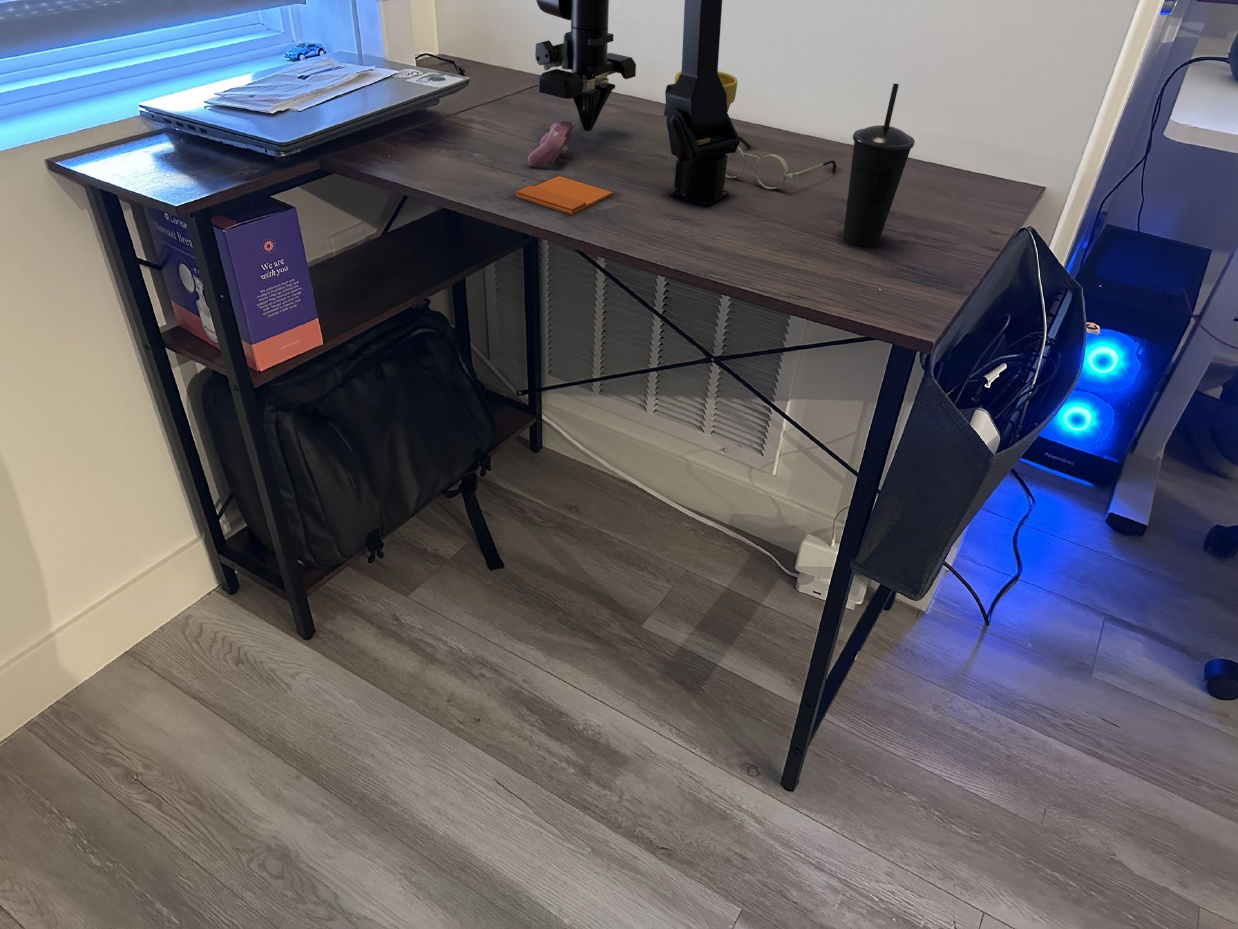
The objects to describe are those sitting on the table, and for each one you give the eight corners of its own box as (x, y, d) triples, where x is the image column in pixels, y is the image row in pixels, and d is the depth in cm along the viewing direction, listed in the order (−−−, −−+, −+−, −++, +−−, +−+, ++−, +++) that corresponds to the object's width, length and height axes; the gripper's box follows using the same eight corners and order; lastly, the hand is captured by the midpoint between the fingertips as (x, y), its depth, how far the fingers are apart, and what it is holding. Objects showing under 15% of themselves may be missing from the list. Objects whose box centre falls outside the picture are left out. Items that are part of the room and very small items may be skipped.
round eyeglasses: (699, 170, 138) (702, 137, 135) (746, 146, 148) (750, 116, 145) (796, 197, 130) (802, 163, 127) (839, 170, 140) (845, 139, 137)
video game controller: (550, 179, 136) (570, 140, 132) (524, 164, 135) (543, 124, 131) (563, 159, 144) (582, 121, 139) (539, 144, 143) (557, 105, 139)
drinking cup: (899, 240, 119) (939, 85, 107) (872, 256, 115) (910, 96, 102) (850, 223, 123) (883, 72, 111) (822, 238, 119) (852, 82, 106)
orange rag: (612, 194, 128) (613, 189, 128) (571, 214, 121) (571, 209, 121) (558, 178, 132) (558, 173, 132) (516, 197, 126) (515, 191, 125)
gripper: (584, 9, 144) (582, 108, 153) (509, 27, 131) (512, 133, 141) (640, 20, 139) (635, 121, 148) (568, 39, 126) (567, 148, 136)
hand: (587, 130), depth 144 cm, fingers closed
